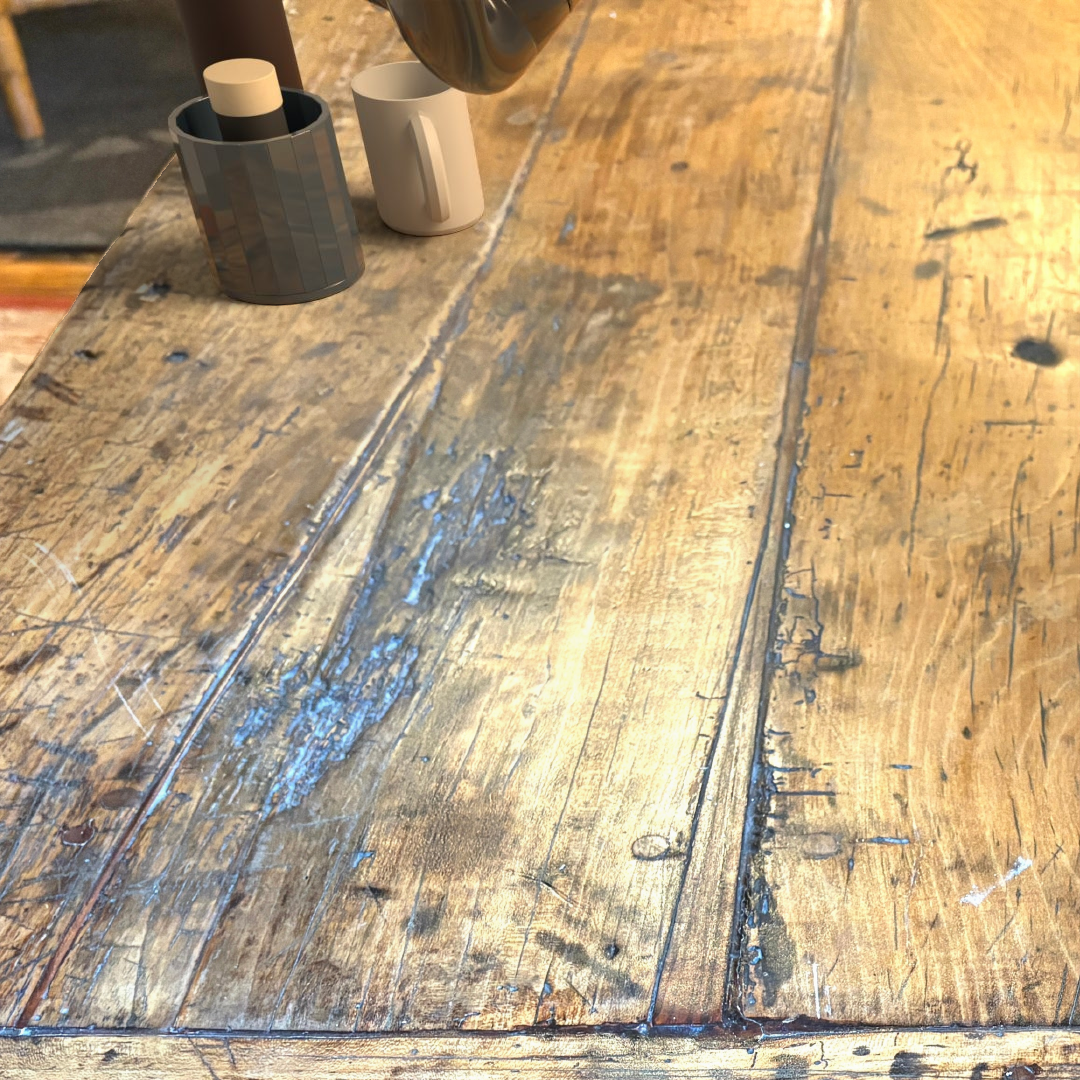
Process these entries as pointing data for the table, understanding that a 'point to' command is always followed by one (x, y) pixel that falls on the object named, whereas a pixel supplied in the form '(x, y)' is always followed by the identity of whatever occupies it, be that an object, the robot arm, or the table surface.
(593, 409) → the table surface
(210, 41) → the bottle
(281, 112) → the glue stick
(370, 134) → the cup
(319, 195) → the pencil cup
